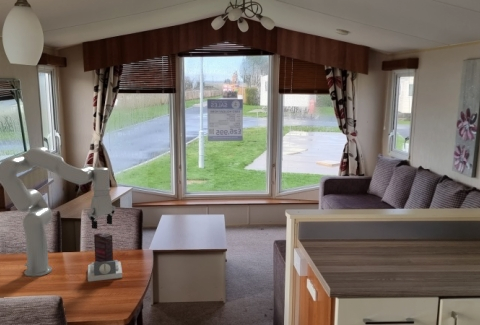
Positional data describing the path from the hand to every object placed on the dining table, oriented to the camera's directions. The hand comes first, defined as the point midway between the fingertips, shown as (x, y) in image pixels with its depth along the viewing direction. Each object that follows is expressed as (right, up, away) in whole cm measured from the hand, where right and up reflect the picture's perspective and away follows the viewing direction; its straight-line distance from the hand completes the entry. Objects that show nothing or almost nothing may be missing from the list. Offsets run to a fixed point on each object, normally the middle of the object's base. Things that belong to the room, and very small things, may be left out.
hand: (102, 226), depth 217 cm
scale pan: (0, -21, +3) cm, 22 cm away
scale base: (+1, -24, +2) cm, 24 cm away
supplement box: (0, -20, +3) cm, 21 cm away
